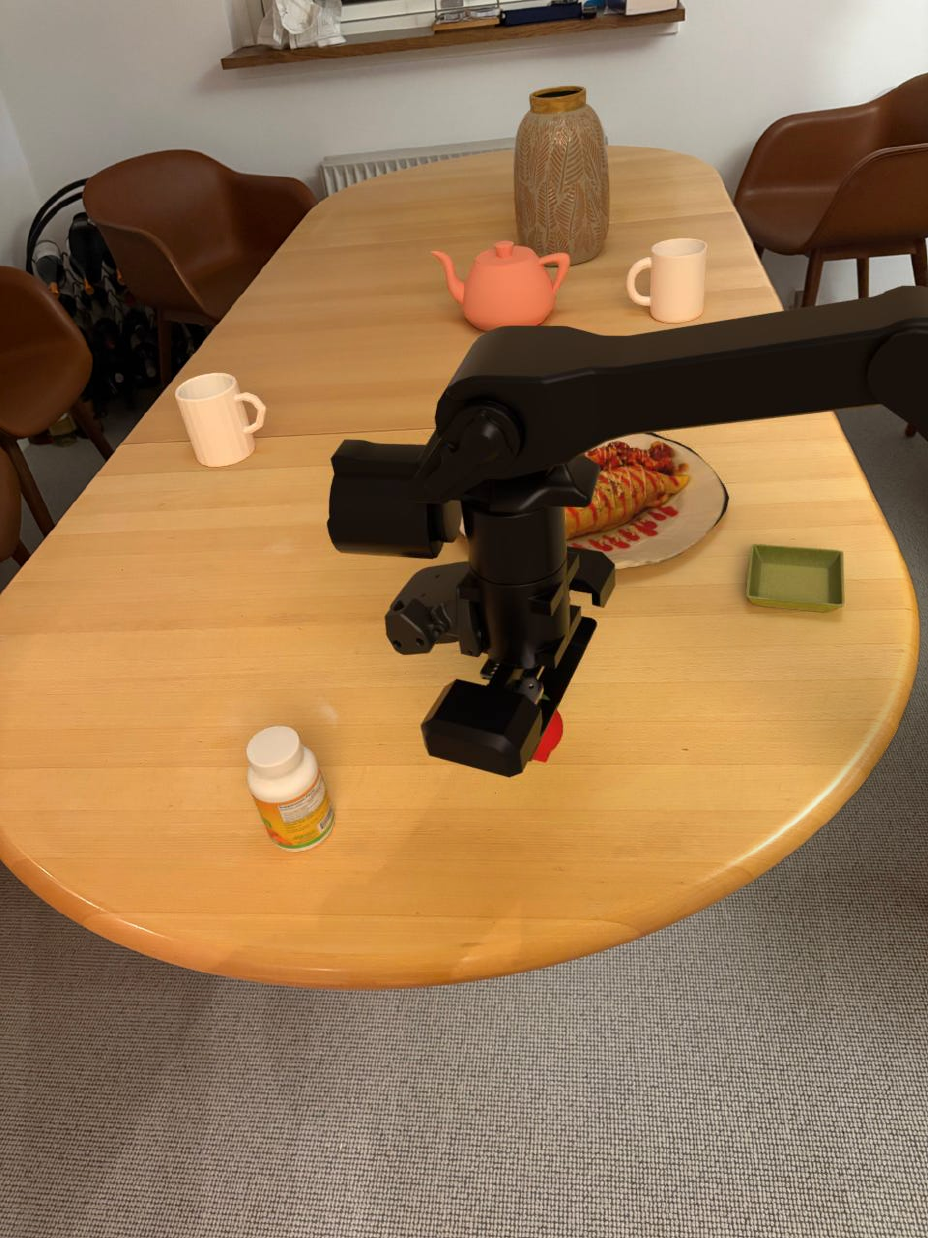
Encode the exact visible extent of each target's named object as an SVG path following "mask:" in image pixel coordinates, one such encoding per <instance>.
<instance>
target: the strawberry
mask: <svg viewBox="0 0 928 1238" xmlns="http://www.w3.org/2000/svg"><path fill="white" fill-rule="evenodd" d="M541 698H542V699H546V700H550V699H549V698H548V697H547V696H546V695H544V694H542V695H541ZM563 733H564V721H563V717H562V715H561V713H560V711H559V710H558V708H557V709H556V711H555V713H554V715H553V717H552V719H551V721H550V723H549V725H548V728H547V730H546V732H545V734H544V736H543V738H542V740H541V742H540V744H539V747H538V749H537V751H536V753H535V755H534V757H533V759H532V761H535V762H541V763H543V764H546V763H547V762H548V760H549V758H550V755H551V753H552V752H553V751H554V750H555V749H556V748H557V747H558V745H559V744H560V743H561V740H562V738H563Z"/></svg>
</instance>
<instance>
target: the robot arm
mask: <svg viewBox="0 0 928 1238" xmlns="http://www.w3.org/2000/svg"><path fill="white" fill-rule="evenodd" d="M872 407H873V408H874V407H885V408H886V409H888V410H889V411H890V412H892V413H893V414H894V415H895V416H897V417H899V418H900V419H901V420H903V421H904V422H906V423H907V424H909V426H911V427H912V428H913V429H914V430H915V431H916V432H917V433H918V434H919V435H920V436H921V437H922V438H923V439H924V440H925V441H926V442H927V443H928V287H927V286H923V285H900V286H897V287H894V288H891V289H888V290H885V291H884V292H881V293H879V294H877V295H874V296H868V297H862V298H861V297H860V298H856V299H849V300H842V301H836V302H830V303H824V304H818V305H812V306H806V307H805V306H804V307H799V308H792V309H785V310H780V311H774V312H768V313H761V314H756V315H755V314H754V315H749V316H742V317H737V318H730V319H724V320H717V321H711V322H704V323H698V324H692V325H686V326H679V327H673V328H667V329H661V330H655V331H654V330H653V331H651V332H650V331H649V332H642V333H637V334H631V335H630V334H629V335H604V334H598V333H595V332H591V331H588V330H583V329H580V328H576V327H572V326H569V325H536V326H501V327H498V328H496V329H493V330H490V331H485V332H484V333H483V334H481V335H479V336H478V337H477V338H476V340H475V341H474V342H473V343H472V345H471V346H470V348H469V349H468V351H467V352H466V354H465V356H464V358H463V359H462V361H461V363H460V364H459V366H458V368H457V369H456V371H455V373H454V374H453V375H452V378H451V379H450V381H449V383H448V384H447V386H446V387H445V389H444V390H443V392H442V394H441V396H440V398H439V399H438V401H436V407H435V414H434V423H435V429H434V431H433V432H432V434H431V436H430V438H429V439H428V440H427V442H426V444H417V443H416V444H414V443H413V444H412V443H381V442H379V443H378V442H374V441H373V442H372V441H369V440H365V439H349V438H348V439H343V441H342V442H341V443H340V444H339V446H338V447H337V449H336V450H335V451H334V453H333V454H332V456H331V457H330V463H331V468H332V471H333V475H332V480H331V484H330V489H329V497H328V519H327V520H326V528H327V529H326V530H327V533H328V537H329V539H330V542H331V544H332V545H333V547H334V548H335V550H336V551H338V552H339V553H340V554H345V555H347V554H348V555H361V556H374V557H375V556H377V557H391V558H392V557H393V558H405V559H419V560H421V559H422V560H434V559H437V558H438V557H439V555H440V554H441V551H443V548H444V544H445V543H446V544H453V543H454V542H456V540H457V538H458V536H459V533H460V531H459V530H460V526H461V519H462V517H463V524H464V531H465V537H466V539H465V543H466V544H465V545H466V551H467V557H468V560H463V561H458V562H457V561H456V562H451V563H450V562H449V563H444V564H438V565H437V564H436V565H431V566H427V567H423V568H422V569H420V570H417V571H416V572H415V573H414V574H413V575H412V576H411V577H410V579H409V580H408V581H407V582H406V583H405V585H404V586H403V587H402V588H401V590H400V592H399V593H398V594H397V595H396V597H395V598H394V600H392V602H391V603H390V605H389V609H388V611H387V612H386V614H385V615H384V626H385V636H386V637H387V639H388V641H389V643H390V644H391V646H392V648H393V649H394V651H395V652H397V654H399V655H402V656H412V655H427V654H430V653H431V651H433V648H434V647H435V645H445V644H453V643H458V645H459V651H460V654H461V655H464V656H468V657H472V658H476V659H477V658H480V657H481V655H482V654H485V655H488V658H487V660H486V661H485V663H484V664H483V666H482V668H481V669H480V671H479V678H480V679H482V680H485V681H489V682H488V683H486V684H482V683H477V682H474V681H469V680H465V679H461V678H455V679H453V680H452V681H451V682H449V683H447V684H446V685H444V687H443V688H442V689H441V692H440V693H439V695H438V696H437V697H436V699H435V701H434V703H433V704H432V705H431V707H430V709H429V711H428V712H427V714H426V715H425V717H424V718H423V720H422V722H420V725H419V727H420V731H421V735H422V740H423V744H424V747H425V750H426V752H427V754H428V756H429V757H433V758H436V759H440V760H443V761H448V762H450V763H455V764H459V765H461V766H465V767H469V768H473V769H477V770H480V771H483V772H487V773H491V774H495V775H498V776H502V777H506V778H512V777H515V776H517V775H521V774H523V772H524V770H525V769H526V767H527V764H528V763H529V762H530V763H531V762H532V761H533V760H532V759H533V757H534V755H535V753H536V751H537V749H538V747H539V744H540V742H541V740H542V738H543V736H544V734H545V732H546V730H547V728H548V725H549V723H550V721H551V719H552V717H553V715H554V713H555V711H556V709H557V710H558V708H559V706H560V704H561V702H562V701H563V698H564V696H565V694H566V692H567V689H568V687H569V685H570V683H571V681H572V679H573V677H574V675H575V673H576V671H577V670H578V668H579V665H580V663H581V660H582V659H583V657H584V654H585V652H586V651H587V648H588V646H589V644H590V642H591V640H592V639H593V636H594V634H595V631H596V629H597V627H598V622H597V620H596V619H594V618H593V617H588V616H584V615H582V606H580V605H576V604H572V602H571V601H572V600H571V597H570V591H573V592H579V593H584V594H585V593H586V594H590V595H591V606H594V607H595V608H602V609H605V608H606V605H607V603H608V602H609V599H610V598H611V595H612V593H613V592H614V590H615V587H616V569H615V564H614V563H613V562H612V561H611V560H610V559H609V558H608V557H607V556H606V555H605V554H604V553H603V552H602V551H595V550H589V549H583V548H577V547H570V546H567V542H566V524H565V507H579V508H586V507H588V506H589V505H590V504H591V501H592V498H593V494H594V491H595V487H596V484H597V480H598V477H599V474H600V466H599V465H598V464H597V463H595V462H594V461H592V460H591V459H590V458H588V457H587V456H584V455H583V454H584V453H586V452H588V451H590V450H592V449H594V448H596V447H598V446H599V445H601V444H603V443H605V442H608V441H611V440H615V439H618V438H622V437H625V436H629V435H635V434H643V433H659V432H660V433H661V432H668V431H676V430H685V429H693V428H694V429H695V428H702V427H711V426H717V425H718V426H719V425H720V426H721V425H728V424H738V423H744V422H753V421H754V422H755V421H762V420H771V419H778V418H780V419H781V418H787V417H797V416H804V415H813V414H820V413H821V414H822V413H830V412H838V411H839V412H840V411H846V410H847V411H848V410H855V409H863V408H865V409H866V408H872ZM542 694H544V695H546V696H547V697H548V698H549V699H550V700H546V699H542V698H541V695H542Z"/></svg>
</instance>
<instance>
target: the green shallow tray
mask: <svg viewBox="0 0 928 1238" xmlns="http://www.w3.org/2000/svg"><path fill="white" fill-rule="evenodd" d="M844 563H845V562H844V552H843V550H840V549H839V550H838V549H827V548H817V547H816V548H815V547H813V548H812V547H801V546H787V545H777V544H776V545H775V544H765V543H764V544H763V543H752V544H751V545H750V549H749V558H748V571H747V579H746V589H745V596H746V598H747V599H748V601H750V602H751V603H753V604H754V605H756V606H759V607H763V608H764V607H766V608H776V609H777V608H778V609H785V610H788V609H789V610H799V611H808V612H816V613H817V612H818V613H829V612H834V611H838V610H839V609H841V608H843V607H844V606H845V600H846V599H845V598H846V597H845V570H844V569H845V567H844V566H845V565H844Z"/></svg>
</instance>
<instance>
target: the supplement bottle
mask: <svg viewBox="0 0 928 1238" xmlns="http://www.w3.org/2000/svg"><path fill="white" fill-rule="evenodd" d="M245 751H246V758H247V760H248V763H249V766H248V769H247V771H246V772H247V773H246V781H247V786H248V788H249V789H248V790H249V791H250V794H251V796H252V798H253V801H254V804H255V806H256V809H257V811H258V813H259V815H260V817H261V820H262V822H263V825H264V827H265V829H266V832H267V834H268V836H269V838H270V840H271V842H272V843H273V844H274V845H275V846H276V847H277V848H279V849H280V850H283V851H286V852H292V853H298V852H299V853H300V852H304V851H309V850H310V849H314V848H315V847H317V846H319V845H320V844H321V843H322V842H324V841H325V840H326V838H327V837H328V836H329V835H330V834H331V831H332V830H333V828H334V825H335V819H336V815H335V810H334V807H333V803H332V801H331V797H330V795H329V792H328V789H327V786H326V783H325V780H324V778H323V775H322V772H321V768H320V766H319V763H318V760H317V757H316V756H315V754H314V752H313V751H312V750H311V749H310V748H309V747H308V746H306V745H304V744H303V743H302V741H301V738H300V735H299V734H298V733H297V731H296V730H295V729H294V728H291V727H289V726H286V725H273V726H269V727H266V728H263V729H262V730H260V731H258V732H257V733H256V734H255V735H254V736H252V738H250V740H249V741H248V744H247V745H246V750H245Z"/></svg>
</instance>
